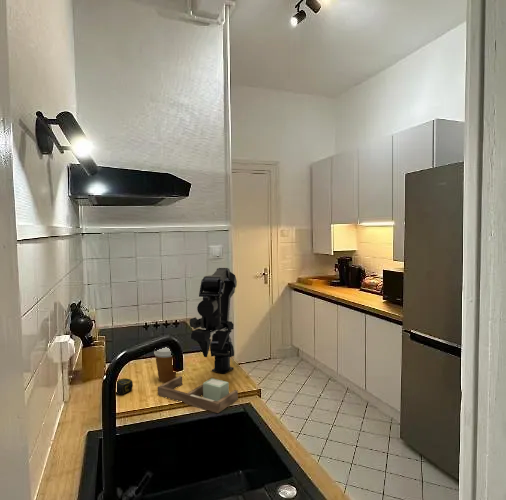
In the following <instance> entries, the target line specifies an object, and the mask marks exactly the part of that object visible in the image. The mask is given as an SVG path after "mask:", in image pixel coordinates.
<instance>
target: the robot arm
mask: <svg viewBox="0 0 506 500" xmlns="http://www.w3.org/2000/svg"><path fill="white" fill-rule="evenodd" d="M215 270H216V271H214V272H213V274H212V275H205V276H203V278H202V279H201V282H200V286H199V287H200V288H199V293H198V297H200V298H202V300H201V301H200V302H198V304H197V306H196V307H197V308H196V309H197V313H198V314H199V315H200V316H201V317H200V318H197V317H196V316H195V317H192V318H189V327H190V328H192V329H193V330H192V331H191V332H190V339H191V340H193V341H196V342H197V343H198V345H199V347H200V350H201V352H202V355H203V357H204V358H207V357H208V354H209V350H210V357H214V364H213V365H214V368H212V369H211V371H212V372H215V373H219V374H223V375H225V374H227V373H229V372H230V371H232V370H233V369H234V367H233V366H231V358H232V357H234V356H235V349H234V344H233V342H232V337H231V336H230V334H231V333H232V330H234V325H235V324H234V322H233V321H230V311H231V310H230V309H231V298H232V296H234V293H235V292H236V288H237V284H238V283H237V282H238V280H237V277H236V274H235V273H233V272H232V271H231V270H230V268H228V267H217V268H216V269H215ZM231 369H232V370H231ZM228 371H229V372H228Z"/></svg>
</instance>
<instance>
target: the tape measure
mask: <svg viewBox="0 0 506 500" xmlns="http://www.w3.org/2000/svg"><path fill="white" fill-rule="evenodd" d="M117 380H118V381H117V393H116V394H119V395H124V394H126V393H129V392H131V391H132V389H133V381H132V380H131V378H127V377H126V378H124V377H123V378H119V379H117Z"/></svg>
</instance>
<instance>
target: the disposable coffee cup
mask: <svg viewBox="0 0 506 500" xmlns="http://www.w3.org/2000/svg"><path fill="white" fill-rule="evenodd" d="M153 354H154V356H155V364H156V369H157V376H158V381H159V382H161V383H166V382H168V381H170V380H172V379H174V378H176V377H177V371H176V372H173V365H172V355H171V351H170V349H169V348H167V347H165V348H162V349H159V350H157V351H155V350H154V352H153Z"/></svg>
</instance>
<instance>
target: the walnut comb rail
mask: <svg viewBox="0 0 506 500" xmlns="http://www.w3.org/2000/svg"><path fill="white" fill-rule="evenodd" d="M182 385H183V376H182V375H179V376H176V378H174V379H172V380H170V381H168V382H163V383H162V384H160V385H158V386H157V396H158V395H159V396H158V397H162V398H165V397H167V398H166V399H168V398H170V399H169V400H172V399H174V400H173V401H175V400H178V401H182V402H184V403H183V404H186V405H189V406H192V407H195V408H199V409H202V410H205V411H208V412H212V413H214V414H215V413H216V414H219V413H220V412H222V411H223V410H225V409H226V408H228V407H229V406H231V405H232V404H234V403H235V402H236V401H237V400H238V398H239V397H238V396H239V391H238V390H236V389H233V390H232V391H231V392H229V394H228V395H226V396H225V397H223V398H222V399H220V400H219V401H214V400H211V399H207V398H204V397H203V383H202V384H201V385H200V386H199V385H198V386H197V387H195V388H194V389H191V390H190V391H188V392H185V391H180V390H178V389H176V387H177V388H178V386H179V387H180V386H182ZM201 395H202V396H201ZM200 396H201V397H200ZM178 401H177V402H178ZM182 402H181V403H182Z"/></svg>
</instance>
